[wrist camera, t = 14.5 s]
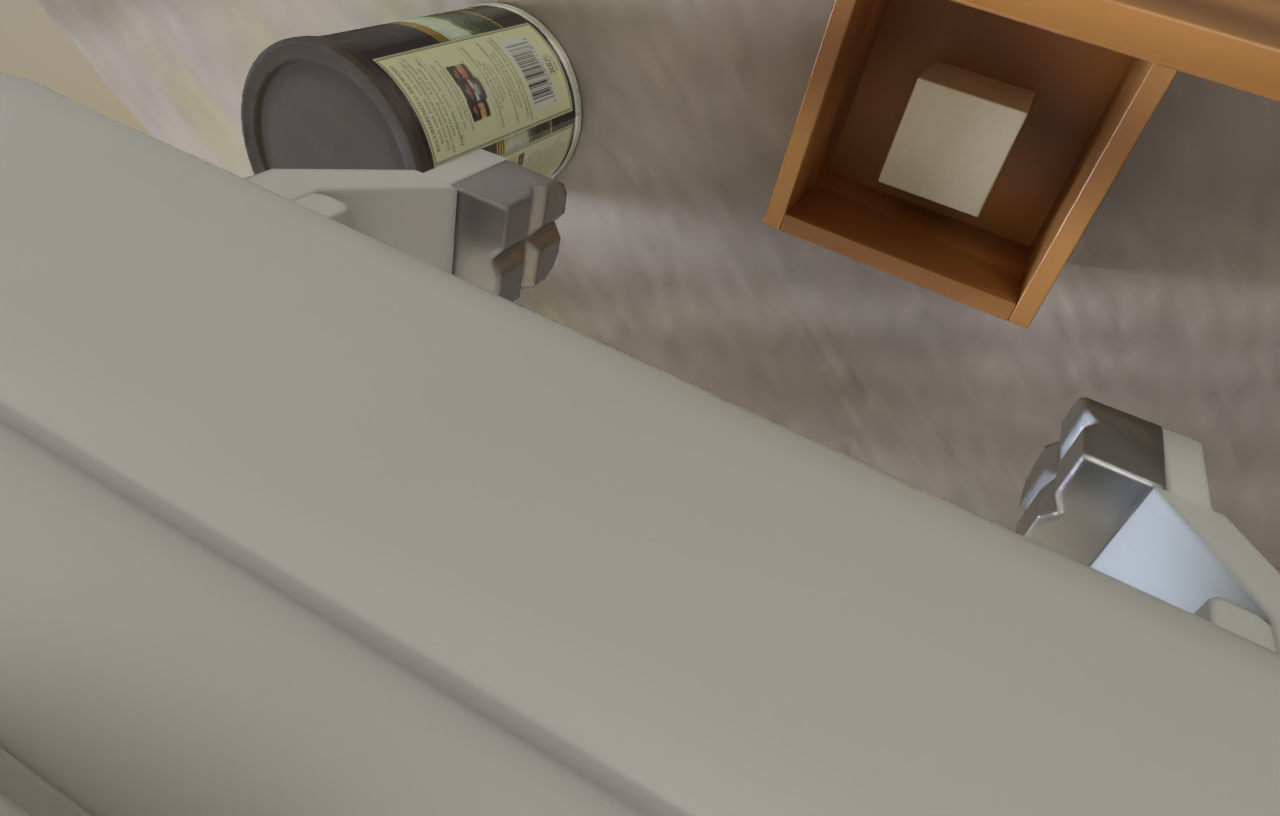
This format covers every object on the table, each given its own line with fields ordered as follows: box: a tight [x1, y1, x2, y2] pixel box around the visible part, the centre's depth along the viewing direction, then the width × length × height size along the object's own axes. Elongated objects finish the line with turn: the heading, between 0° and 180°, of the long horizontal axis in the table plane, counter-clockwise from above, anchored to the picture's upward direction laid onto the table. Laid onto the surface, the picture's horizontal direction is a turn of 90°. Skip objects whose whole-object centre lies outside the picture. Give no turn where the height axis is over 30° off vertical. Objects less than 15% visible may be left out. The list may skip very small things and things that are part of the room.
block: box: [878, 60, 1035, 217], centre depth 35 cm, size 4×4×4 cm
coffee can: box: [241, 3, 582, 179], centre depth 42 cm, size 10×10×14 cm
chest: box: [764, 0, 1178, 328], centre depth 33 cm, size 14×12×8 cm
